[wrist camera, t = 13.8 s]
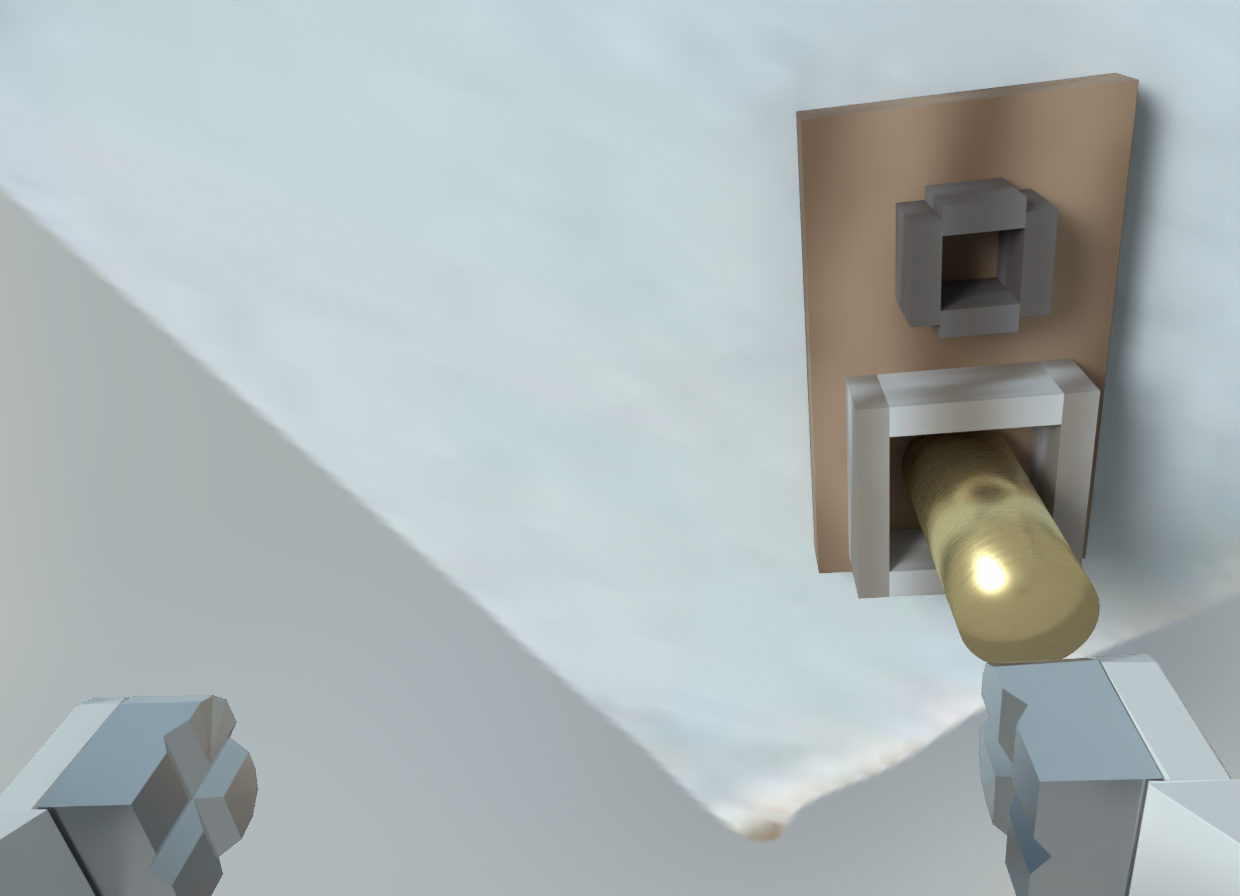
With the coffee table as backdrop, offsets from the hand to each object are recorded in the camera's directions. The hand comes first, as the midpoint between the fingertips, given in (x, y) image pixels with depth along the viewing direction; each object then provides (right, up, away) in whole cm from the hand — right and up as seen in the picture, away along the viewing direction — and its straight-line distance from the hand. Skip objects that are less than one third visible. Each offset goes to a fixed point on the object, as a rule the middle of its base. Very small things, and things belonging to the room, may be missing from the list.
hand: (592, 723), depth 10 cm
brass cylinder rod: (+14, +2, +28) cm, 31 cm away
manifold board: (+13, +7, +28) cm, 32 cm away
